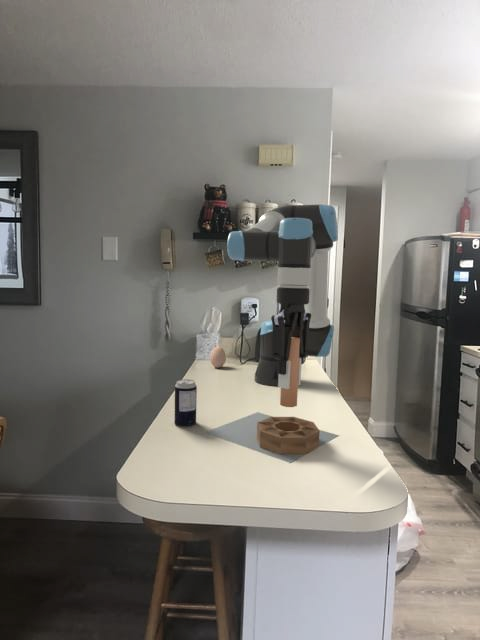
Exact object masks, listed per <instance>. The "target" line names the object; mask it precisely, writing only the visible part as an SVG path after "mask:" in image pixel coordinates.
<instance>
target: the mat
mask: <svg viewBox="0 0 480 640" xmlns="http://www.w3.org/2000/svg"><path fill="white" fill-rule="evenodd" d="M269 417H274V416H272V415H268V414H265V413H261V412H258V411H257V412H254V413H252V414H249V415H246V416H243V417H241V418H238V419H235V420H232V421H231V422H228V423H225V424H222V425H220V426H217V427H215V428H211V429H208V430H206V431H204V433H205V434H208V435H211V436H213V437H216V438H218V439H221V440H224V441H228V442H229V443H233V444H236V445H238V446H241V447H244V448H247V449H250V450H252V451H256V452H258V453H260V454H263V455H266V456H270V457H272V458H274V459H278V460H280V461H284V462H286V463H288V464H292V463H294V462H295V461H297V460H299V459H300V458H302V457H305V456H306V455H308V454H310V453H311V452H309V453H307V454H302V455H280V454H277V453H274V452H271V451H268V450H265V449H262V448H260V447H259V444H258V441H257V422H259V421H262V420H264V419H267V418H269ZM319 430H320V433H319V447H318V448H320V447H322V446H324V445H325V444H327V443H329V442H331V441H333V440H334V439H336V438H337V437H340V434H335V433H331V432H328V431H325V430H321V429H319ZM318 448H316V449H314V450H313V451H315V450H317V449H318Z"/></svg>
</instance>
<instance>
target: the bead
mask: <svg viewBox="0 0 480 640" xmlns="http://www.w3.org/2000/svg"><path fill="white" fill-rule="evenodd" d="M320 430H321V429H319V428H318V426H317V425H316V424H315V423H314V421H312V420H311V421H310V420H307V419H304V418H299V417H296V416H273V417H269V418H267V419H264V420H262V421H259V422H257V441H258V444H259V447H260V448H262V449H265V450H268V451H271V452H274V453H277V454H280V455H302V454H306V455H308V454H310V453H311V452H313V451H315V450H317V449H318V448H320V447H319V433H320ZM316 448H317V449H316ZM314 449H315V450H314ZM309 452H310V453H309ZM307 453H308V454H307Z"/></svg>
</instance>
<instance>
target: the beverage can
mask: <svg viewBox="0 0 480 640" xmlns="http://www.w3.org/2000/svg"><path fill="white" fill-rule="evenodd" d="M197 389H198V386H197V384H196V381H195V380H194V379H189V378H188V379H179V380H176V384H175V385H174V424H175V425H176V426H177V427H179V428H189V427H193V426H195V425H196V423H197V395H198V393H197V392H198V390H197Z"/></svg>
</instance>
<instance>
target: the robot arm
mask: <svg viewBox="0 0 480 640" xmlns="http://www.w3.org/2000/svg"><path fill="white" fill-rule="evenodd" d="M338 228H339V227H338V219H337V212H336V209H335V207H334V205H330V204H329V205H328V204H296V205H295V204H289V205H282V206H278V207H276V208H272V209H271V210H267V212H265V213H264V214H262V215H261V216H260V218H259V219H258V222H257V223H255V224H253V226H251V227H250V228H248V229H247V230H238V231H236V230H235V231H230V232H229V234H228V237H227V243H226V244H227V245H226V249H227V255H228V257H229V259H230V260H232V261H240V262H244V261H245V262H247V261H248V262H250V261H251V262H278V263H277V282H276V283H277V285H278V286H279V287H277V288H276V303H277V304H279V305H280V308H279V311H278V314H277V315H271V318H270V319H271V320H265V321H264V322H262V324H261V327H260V333H259V336H260V338H259V339H260V340H259V341H260V342H259V343H260V345H259V361H258V364H257V366H256V370H255V373H254V381H255V382H256V383H258V384H261V385H265V386H273V387H275V386H277V388H280V389H281V388H285V389H290V365H291V361H289V360H288V359H289V352H290V345H291V339H292V337H297V338H300V347H299V371H298V386H301V382H302V381H301V378H302V377H301V374H302V363H303V362H302V360H303V359H306V358H307V357H315V358H319V357H320V358H321V357H323V358H324V357H328V356H329V355H330V353H331V347H332V343H333V337H334V331H335V326H334V325H332V324H331V320H330V318H328V317H327V306H328V305H327V299H328V298H327V297H328V295H327V294H328V271H329V270H328V268H329V267H328V266H329V251H331V249H332V248H333V247H334V243H335V242H337V241H338V239H339V231H338Z"/></svg>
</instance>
